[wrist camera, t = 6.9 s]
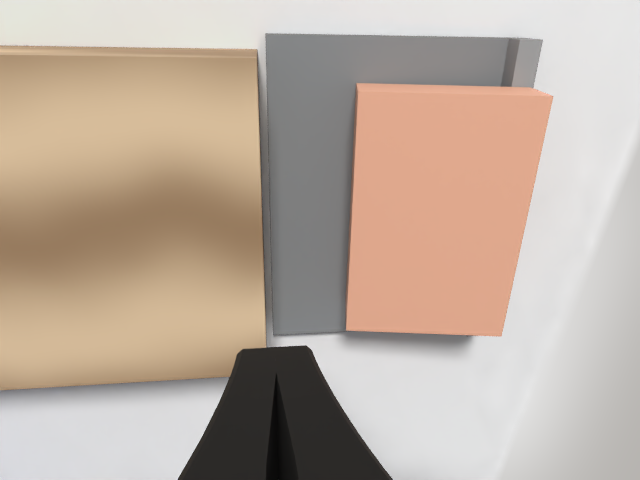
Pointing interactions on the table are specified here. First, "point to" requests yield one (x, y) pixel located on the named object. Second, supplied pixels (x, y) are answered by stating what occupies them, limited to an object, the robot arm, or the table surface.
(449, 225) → the block
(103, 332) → the deck
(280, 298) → the mat
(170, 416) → the table surface
